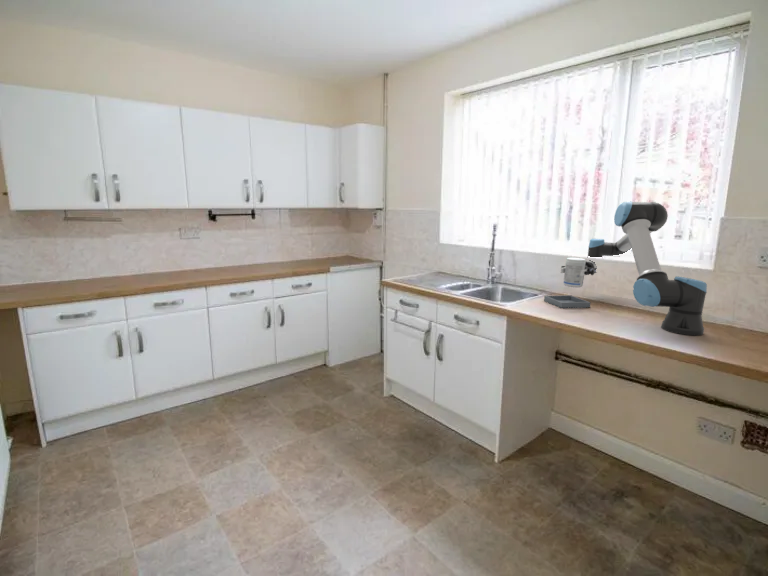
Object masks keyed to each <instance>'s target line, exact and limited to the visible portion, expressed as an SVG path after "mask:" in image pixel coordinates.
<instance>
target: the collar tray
mask: <svg viewBox="0 0 768 576" xmlns="http://www.w3.org/2000/svg"><path fill="white" fill-rule="evenodd" d="M543 297H544V298H543V301H544V302H546V303H547V302H548V303H547V304H550V305H552V306H554V305H555V306H554V307H557V308H559V309H561V308H563V309H589V308H588V307H590V308H591V302H590V301H588V300H585V299H582V298H579V297H577V296H575V295H572V294H571V295H567V294H565V295H544V296H543ZM586 307H587V308H586Z"/></svg>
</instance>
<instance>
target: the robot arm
mask: <svg viewBox="0 0 768 576" xmlns="http://www.w3.org/2000/svg"><path fill="white" fill-rule="evenodd" d="M668 216H669V215H668V211H667V209H666V207H665V206H664V205H662V204H661V203H659V202H653V201H652V202H650V201H649V202H647V201H623V202H621V203H619V205H618V206H617V208H616V210H615V213H614V216H613V217H614V224H615V226H617V227H621V229H622V232H623V233H624V235H623V236H622V237H620V239H618V240H617V241H616V242H606V241H605V239H603V238H591V239H590V240H589V242H588V243H589V244H588V250H587V251H588V252H587V257H588V256H590V257H602V258H603V257H614V256H613V255H619V254H623V253H625V252H627V251H628V250H630V249H631V248H632V250H631V253H632V255H633V258H634V262H635V266H636V269H637V273H638V277H636V280H635V282H634V283H633V286H632V287H633V289H632V293H633V296H634V299H635V300H636V302H637V303H638V304H640V305H642V306H645V307H646V306H647V307H650V308H651V307H653V308H654V307H659V308H660V307H665V308H666V307H667V308H669V309H668V312H667V313H666V315H665V317H664V319H663V321H662V322H661V328H662V330H664V331H666V332H667V331H668V332H671V333H674V334H679V335H685V336H702V335H704V333H705V327H704V322H703V309H704V305H705V301H706V295H707V293H708V292H707V289H708V288H707V287H708V285H707V283H706V282H705V281H703V280H699V279H694V278H691V277H690V278H689V277H685V276H675V277H674V278H673V279H669V277H668V274H667V272H665V271H663V270H662V268H661V265H660V261H659V258H658V256H657V252H656V248H655V246H654V242H653V239H652V237H651V233H653V232H658V231H659V230H660V229H661V228H662V227H663V226H665V225H666V223H667V220H668V218H669V217H668ZM585 262H586V263H585V270H582V271H581V273H580V276H584V277H585V276H589V275H590V276H594V275H595V274H596V273H597V272H596V269H597V266H596V264H595V262H593V261H591V260H589V261H587V260H586V261H585ZM560 274H565V265H561V267H560Z"/></svg>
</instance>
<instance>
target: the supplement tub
mask: <svg viewBox="0 0 768 576" xmlns="http://www.w3.org/2000/svg"><path fill="white" fill-rule="evenodd" d="M585 261H587V259H586V258H581V257H567V258H566V260H565V264H564V266H565V273H563V274H564V276H563V286H565V287H568V288H583V286H584V279H585V278H584V277H585V275H584V276H580V273H581V271H582V270H585V263H586V262H585Z"/></svg>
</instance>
